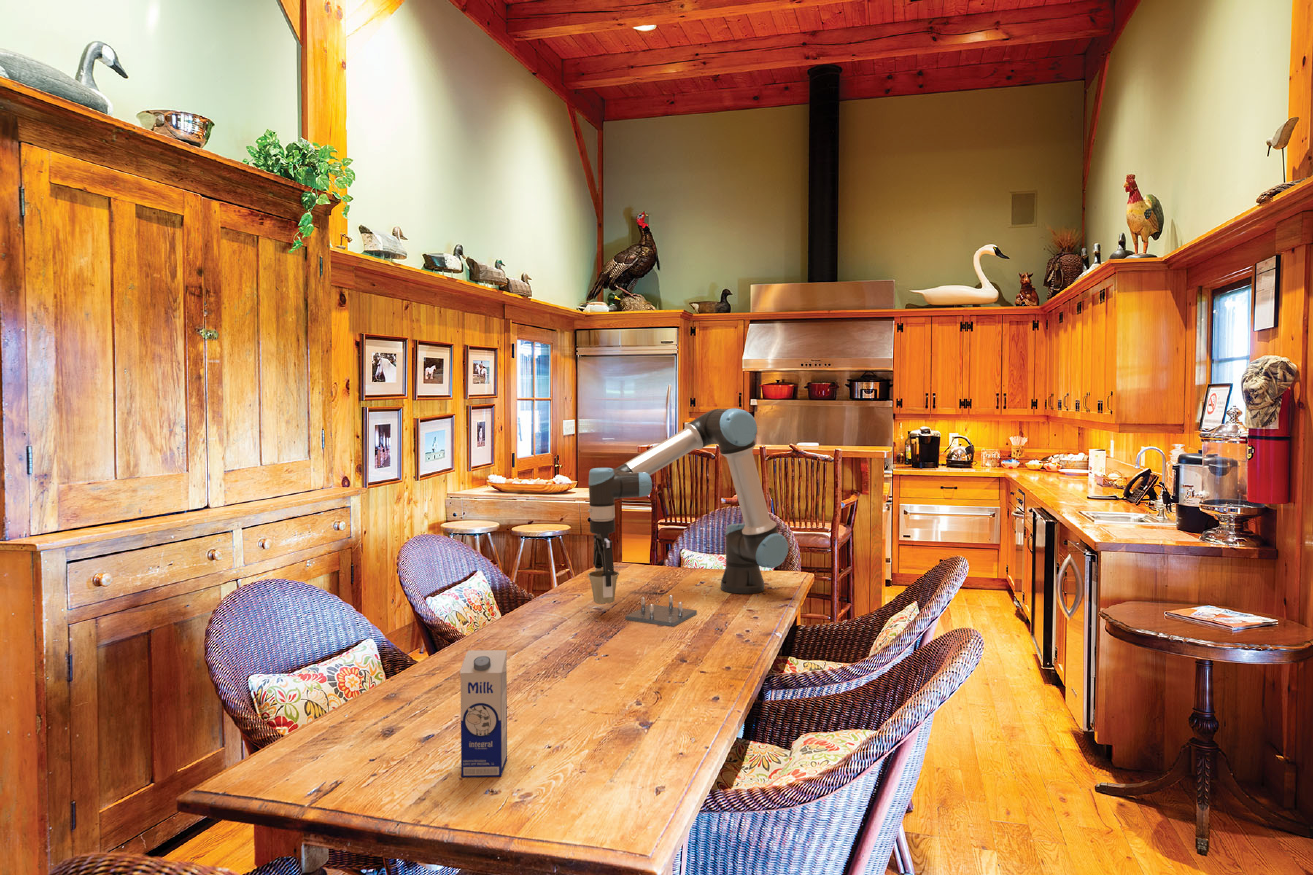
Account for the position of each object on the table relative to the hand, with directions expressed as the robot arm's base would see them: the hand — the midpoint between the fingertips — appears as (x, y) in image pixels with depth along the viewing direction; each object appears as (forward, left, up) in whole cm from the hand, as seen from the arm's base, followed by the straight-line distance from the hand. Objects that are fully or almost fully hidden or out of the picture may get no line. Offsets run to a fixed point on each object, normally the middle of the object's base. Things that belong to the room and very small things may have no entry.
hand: (603, 593), depth 240 cm
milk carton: (+96, +35, -7) cm, 103 cm away
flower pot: (0, 0, -3) cm, 3 cm away
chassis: (-8, +16, -7) cm, 19 cm away
